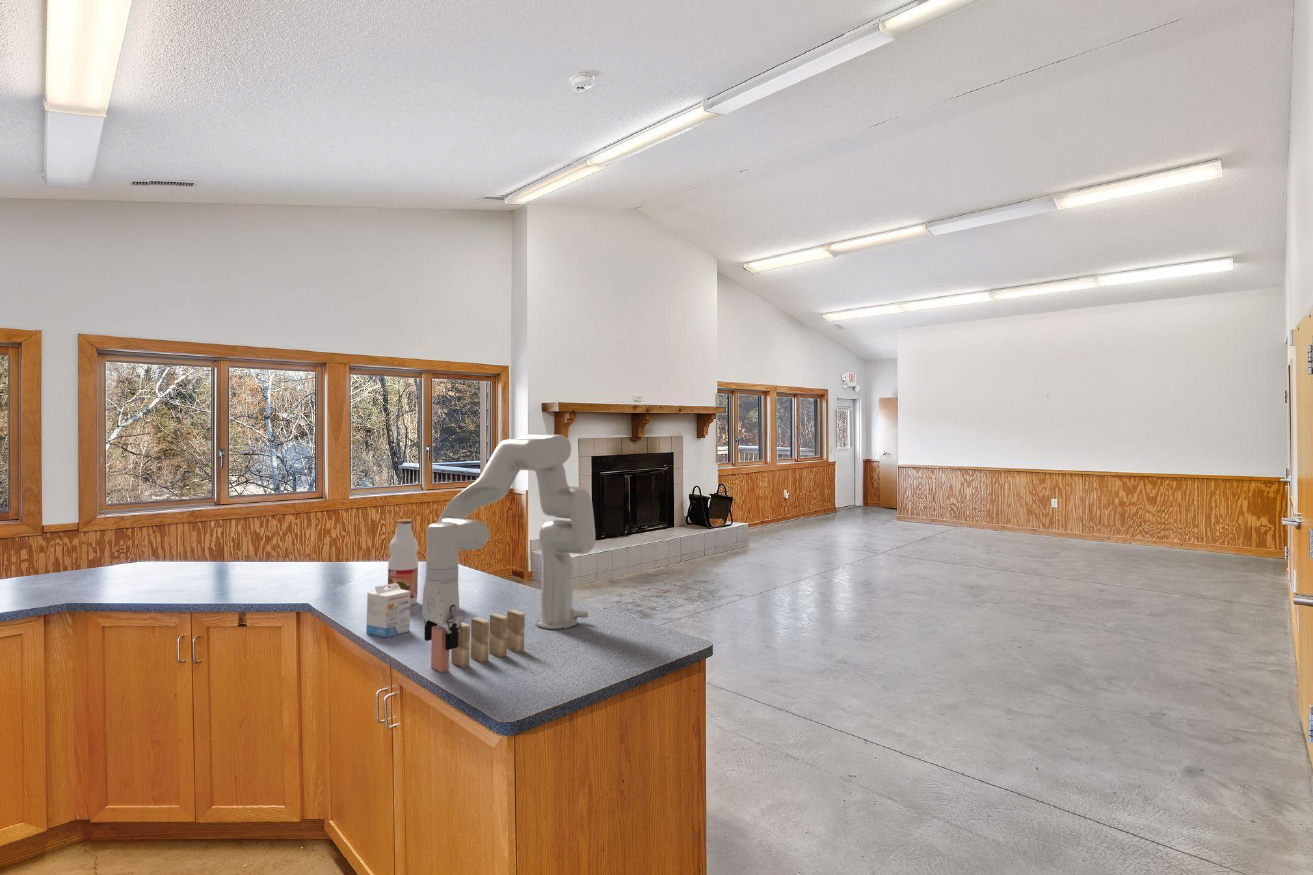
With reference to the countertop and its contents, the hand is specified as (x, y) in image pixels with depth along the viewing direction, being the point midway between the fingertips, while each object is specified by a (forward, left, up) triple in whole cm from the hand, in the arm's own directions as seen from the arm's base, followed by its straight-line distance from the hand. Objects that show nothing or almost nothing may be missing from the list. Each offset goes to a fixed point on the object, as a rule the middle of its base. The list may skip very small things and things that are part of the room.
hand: (441, 644), depth 164 cm
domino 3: (-9, -6, -6) cm, 12 cm away
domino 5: (-18, -12, -6) cm, 23 cm away
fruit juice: (+19, -66, -6) cm, 69 cm away
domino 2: (-4, -3, -6) cm, 8 cm away
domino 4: (-13, -9, -6) cm, 17 cm away
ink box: (+18, -33, -6) cm, 38 cm away
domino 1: (0, 0, -6) cm, 6 cm away
